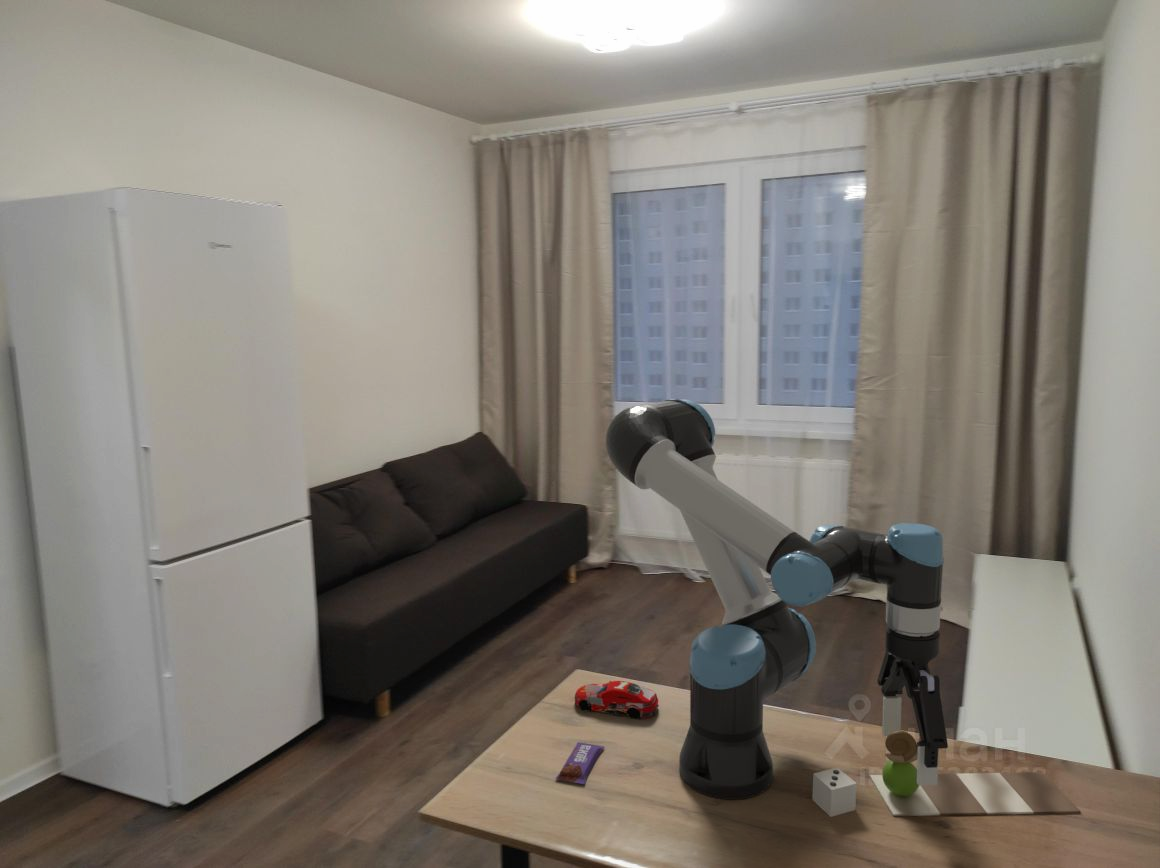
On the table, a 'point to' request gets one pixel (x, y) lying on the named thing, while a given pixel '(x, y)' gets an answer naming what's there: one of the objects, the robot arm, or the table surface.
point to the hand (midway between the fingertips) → (908, 758)
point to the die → (834, 791)
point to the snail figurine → (901, 763)
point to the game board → (979, 795)
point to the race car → (618, 699)
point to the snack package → (580, 763)
